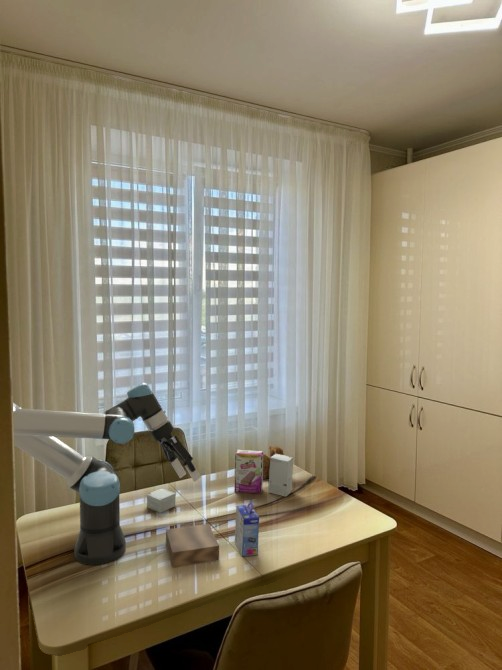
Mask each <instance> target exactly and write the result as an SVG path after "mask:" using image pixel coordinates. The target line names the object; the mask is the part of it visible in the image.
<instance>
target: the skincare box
mask: <svg viewBox="0 0 502 670" xmlns="http://www.w3.org/2000/svg"><path fill="white" fill-rule="evenodd" d="M269 458H270V472H269V478H268V490H267V493H268V494H274V495H277V496H282V497H285V498H286V497H287V496H289V494H291V493H292V489H293V487H292V486H293V474H294V473H293V472H294V460H295V459H294V457H292V456H288V455H285V454H284V455H279V454H275V455H273V456H272V457H270V456H269Z"/></svg>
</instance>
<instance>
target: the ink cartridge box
mask: <svg viewBox="0 0 502 670" xmlns="http://www.w3.org/2000/svg"><path fill="white" fill-rule="evenodd" d="M235 507H236V508H235V527H234V528H235V529H234V543H235V545H236V548H237V549H238V551H239V553H240V556H241V557H248V556H258V555H259V554H258V553H259V534H260V533H259V532H260V530H259V529H260V517H259V516H260V515H258V513H257V512H256V510H255V508H254V507H255V506H254V504H253V502H252V500H250V501H249V502H248V504H240V505H236V506H235Z"/></svg>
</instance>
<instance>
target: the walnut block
mask: <svg viewBox="0 0 502 670" xmlns="http://www.w3.org/2000/svg"><path fill="white" fill-rule="evenodd" d="M165 546H166V549H167V552H168V556H169V560H170V564H171V567H172V569H173V568H180V567H184V566H191V565H197V564H202V563H203V564H204V563H210V562H211V563H212V562H216V561H219V560H220V544H219V542H218V540H217V538H216V536H215V534H214V531H213V530H212V527H211V525H210V524H209V523H206V524H205V523H204V524H196V525H189V526H183V527H182V526H181V527H176V528H168V529H165Z"/></svg>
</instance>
